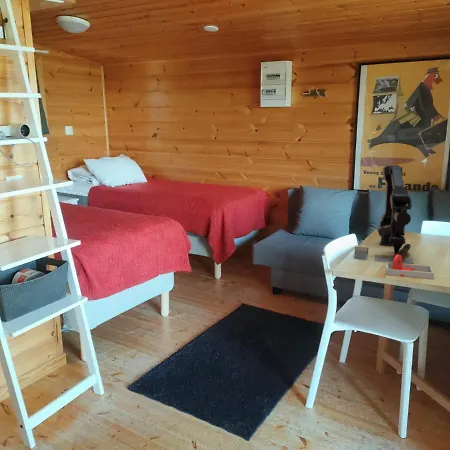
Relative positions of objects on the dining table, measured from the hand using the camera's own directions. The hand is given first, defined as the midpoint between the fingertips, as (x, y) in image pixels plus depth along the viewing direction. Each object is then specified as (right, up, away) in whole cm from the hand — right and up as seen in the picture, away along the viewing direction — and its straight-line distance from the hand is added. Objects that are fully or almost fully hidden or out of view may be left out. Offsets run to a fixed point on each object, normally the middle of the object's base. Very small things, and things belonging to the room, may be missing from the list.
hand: (395, 254), depth 200 cm
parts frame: (-3, -6, -21) cm, 22 cm away
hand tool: (+2, -1, 0) cm, 2 cm away
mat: (-2, -2, -3) cm, 5 cm away
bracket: (-4, -6, -20) cm, 21 cm away
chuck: (-16, -2, +1) cm, 16 cm away
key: (-15, -1, +3) cm, 15 cm away
